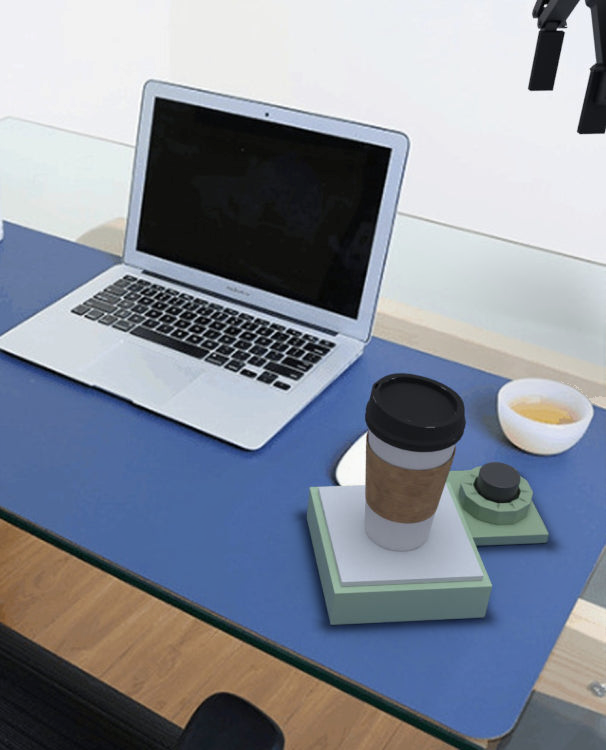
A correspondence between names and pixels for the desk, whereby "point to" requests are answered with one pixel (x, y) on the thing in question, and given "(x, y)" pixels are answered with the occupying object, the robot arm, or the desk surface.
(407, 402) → the coffee cup
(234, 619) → the desk surface
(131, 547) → the desk surface
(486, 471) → the tare button
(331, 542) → the scale
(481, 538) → the panel
